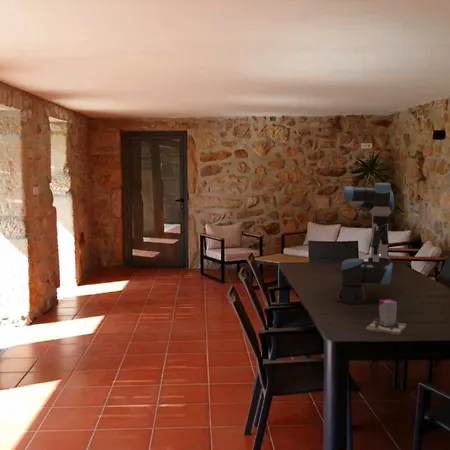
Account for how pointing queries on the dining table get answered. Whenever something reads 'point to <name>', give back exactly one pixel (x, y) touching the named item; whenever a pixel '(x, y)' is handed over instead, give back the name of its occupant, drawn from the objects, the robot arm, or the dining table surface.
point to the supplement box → (387, 312)
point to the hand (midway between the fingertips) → (379, 259)
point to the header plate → (390, 330)
